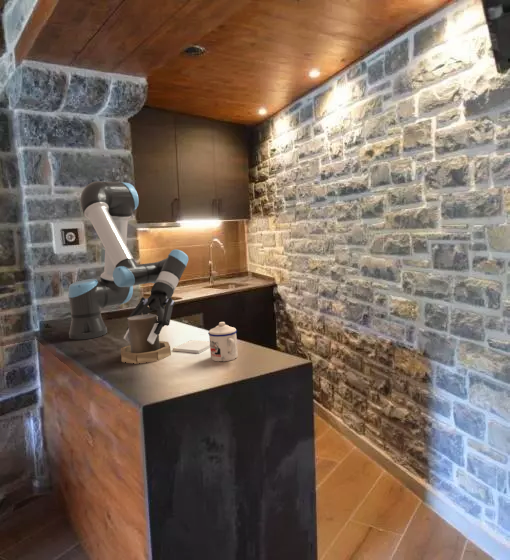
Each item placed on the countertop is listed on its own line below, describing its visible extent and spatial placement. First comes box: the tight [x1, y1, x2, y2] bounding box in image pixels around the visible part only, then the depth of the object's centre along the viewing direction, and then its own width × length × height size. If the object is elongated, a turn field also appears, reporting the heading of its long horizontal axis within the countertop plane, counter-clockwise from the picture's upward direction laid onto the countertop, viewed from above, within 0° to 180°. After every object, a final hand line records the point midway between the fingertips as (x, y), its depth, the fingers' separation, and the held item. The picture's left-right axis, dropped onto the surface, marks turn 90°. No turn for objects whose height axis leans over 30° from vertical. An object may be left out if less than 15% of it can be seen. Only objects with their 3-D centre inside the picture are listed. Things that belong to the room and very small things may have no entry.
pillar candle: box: [126, 313, 160, 353], centre depth 147 cm, size 10×10×15 cm
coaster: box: [172, 339, 210, 354], centre depth 154 cm, size 11×11×1 cm
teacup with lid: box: [208, 321, 239, 362], centre depth 138 cm, size 12×9×12 cm
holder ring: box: [120, 340, 172, 365], centre depth 147 cm, size 16×16×3 cm
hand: (138, 341), depth 144 cm, fingers closed on pillar candle, 9 cm apart
